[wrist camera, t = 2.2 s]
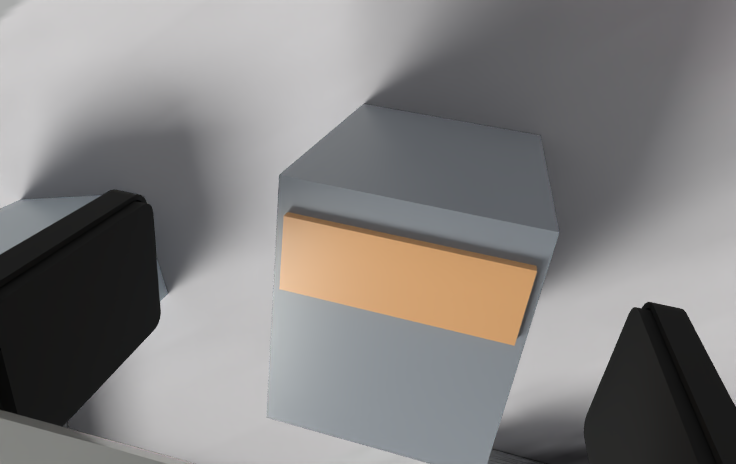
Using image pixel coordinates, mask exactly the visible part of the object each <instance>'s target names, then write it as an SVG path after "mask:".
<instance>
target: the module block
mask: <svg viewBox="0 0 736 464" xmlns="http://www.w3.org/2000/svg"><path fill="white" fill-rule="evenodd" d="M558 236H559V227H558V222H557V217H556V212H555V207H554V202H553V197H552V191H551V186H550V181H549V176H548V171H547V166H546V161H545V156H544V150H543V145H542V140H541V135H535V134H530V133H524V132H519V131H513V130H508V129H502V128H496V127H491V126H485V125H480V124H474V123H469V122H463V121H457V120H452V119H446V118H441V117H435V116H430V115H424V114H418V113H413V112H407V111H402V110H396V109H391V108H385V107H379V106H374V105H368V104H363V105H362V106H360V107H359V108H358V109H357V110H356V111H354V112H353V113H352V114H351V115H350V116H349V117H347V118H346V119H345V120H344V121H343V122H341V123H340V124H339V125H338V126H337V127H336V128H334V129H333V130H332V131H331V132H330V133H328V134H327V135H326V136H325V137H324V138H322V139H321V140H320V141H319V142H318V143H317V144H315V145H314V146H313V147H312V148H311V149H309V150H308V151H307V152H306V153H305V154H303V155H302V156H301V157H300V158H299V159H298V160H296V161H295V162H294V163H293V164H292V165H290V166H289V167H288V168H287V169H286V170H284V171H283V172H282V173H281V174H280V175H279V190H278V209H277V228H276V247H275V266H274V285H273V304H272V323H271V342H270V361H269V380H268V399H267V418H270V419H273V420H277V421H280V422H284V423H287V424H291V425H294V426H298V427H302V428H305V429H309V430H312V431H316V432H319V433H323V434H327V435H330V436H334V437H337V438H341V439H344V440H348V441H351V442H355V443H359V444H362V445H366V446H369V447H373V448H376V449H380V450H384V451H387V452H391V453H394V454H398V455H401V456H405V457H408V458H412V459H416V460H419V461H423V462H426V463H430V464H487V463H488V459H489V456H490V453H491V450H492V447H493V444H494V440H495V437H496V434H497V431H498V428H499V424H500V421H501V418H502V415H503V412H504V408H505V405H506V402H507V399H508V396H509V392H510V389H511V386H512V383H513V380H514V376H515V373H516V370H517V367H518V364H519V360H520V357H521V354H522V351H523V348H524V344H525V341H526V338H527V335H528V332H529V328H530V325H531V322H532V319H533V316H534V312H535V309H536V306H537V303H538V300H539V296H540V293H541V290H542V287H543V284H544V280H545V277H546V274H547V271H548V268H549V264H550V261H551V258H552V255H553V252H554V248H555V245H556V242H557V239H558Z"/></svg>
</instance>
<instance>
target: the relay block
mask: <svg viewBox="0 0 736 464" xmlns="http://www.w3.org/2000/svg"><path fill="white" fill-rule="evenodd" d="M133 194H136V193H133ZM100 196H101V195H92V196H74V197H56V198H39V199H21V200H19V201H16V202H14V203H12V204H10V205H8V206H5V207H3V208H1V209H0V254H2V253H4V252H5V251H7V250H9V249H10V248H12V247H14V246H16V245H17V244H19V243H21V242H22V241H24V240H26V239H28V238H29V237H31V236H33V235H34V234H36V233H38V232H40V231H41V230H43V229H45V228H46V227H48V226H50V225H52V224H53V223H55V222H57V221H58V220H60V219H62V218H64V217H65V216H67V215H69V214H70V213H72V212H74V211H76V210H77V209H79V208H81V207H82V206H84V205H86V204H88V203H89V202H91V201H93V200H94V199H96V198H98V197H100ZM156 258H157V257H156ZM157 271H158V284H159V297H160V301H161V300H162V299H163V298H164V297H165V296H166V295H167V294H168V292H167V289H166V286H165V283H164V279H163V276H162V273H161V270H160V267H159V264H158V261H157Z"/></svg>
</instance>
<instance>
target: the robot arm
mask: <svg viewBox="0 0 736 464" xmlns="http://www.w3.org/2000/svg"><path fill="white" fill-rule="evenodd" d="M160 314H161V310H160V297H159V284H158V271H157V258H156V245H155V232H154V219H153V210H152V207H151V205H149V204H147V203H146V200H145V198H144V197H143V196H142V195H138V194H133V193H129V192H124V191H119V190H111V191H108V192H107V193H105V194H103V195H101V196H100V197H98V198H96V199H94V200H93V201H91V202H89V203H88V204H86V205H84V206H82V207H81V208H79V209H77V210H76V211H74V212H72V213H70V214H69V215H67V216H65V217H64V218H62V219H60V220H58V221H57V222H55V223H53V224H52V225H50V226H48V227H46V228H45V229H43V230H41V231H40V232H38V233H36V234H34V235H33V236H31V237H29V238H28V239H26V240H24V241H22V242H21V243H19V244H17V245H16V246H14V247H12V248H10V249H9V250H7V251H5V252H4V253H2V254H0V464H195V463H191V462H187V461H184V460H180V459H177V458H173V457H170V456H166V455H163V454H159V453H155V452H152V451H148V450H145V449H141V448H137V447H134V446H130V445H126V444H123V443H119V442H116V441H112V440H108V439H105V438H101V437H97V436H94V435H90V434H86V433H83V432H79V431H76V430H72V429H68V428H65V427H63V426H64V425H65V424H66V422H67V421H68V420H69V419H70V418H71V417H72V416H73V415H74V414H75V413H76V412H77V411H78V410H79V409H80V408H81V407H82V406H83V405H84V403H85V402H86V401H87V400H88V399H89V398H90V397H91V396H92V395H93V394H94V393H95V392H96V391H97V390H98V389H99V388H100V387H101V386H102V384H103V383H104V382H105V381H106V380H107V379H108V378H109V377H110V376H111V375H112V374H113V373H114V372H115V371H116V370H117V369H118V368H119V366H120V365H121V364H122V363H123V362H124V361H125V360H126V359H127V358H128V357H129V356H130V355H131V354H132V353H133V352H134V351H135V350H136V349H137V347H138V346H139V345H140V344H141V343H142V342H143V341H144V340H145V339H146V338H147V337H148V336H149V335H150V334H151V333H152V332H153V331H154V329H155V328H156V326H157V325H158V322H159V319H160ZM584 438H585V443H586V449H587V455H588V461H589V464H736V406H735V404H734V403H733V401H732V399H731V398H730V396H729V394H728V392H727V390H726V388H725V386H724V384H723V382H722V380H721V378H720V377H719V375H718V373H717V371H716V369H715V367H714V365H713V363H712V361H711V359H710V357H709V356H708V354H707V352H706V350H705V348H704V346H703V344H702V342H701V340H700V338H699V336H698V335H697V333H696V331H695V329H694V327H693V325H692V323H691V321H690V319H689V317H688V315H687V314H686V312H685V311H684V310H683V309H680V308H676V307H671V306H666V305H661V304H656V303H652V302H647V303H645V304H644V306H643V307H642V309H641V308H637V307H634V308H633V309H632V310H631V311H630V313H629V315H628V317H627V320H626V322H625V325H624V327H623V329H622V332H621V334H620V337H619V339H618V341H617V344H616V346H615V348H614V351H613V353H612V356H611V358H610V360H609V363H608V365H607V368H606V370H605V372H604V375H603V377H602V379H601V382H600V384H599V387H598V389H597V391H596V394H595V396H594V399H593V401H592V403H591V406H590V408H589V411H588V413H587V416H586V419H585V424H584Z"/></svg>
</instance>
